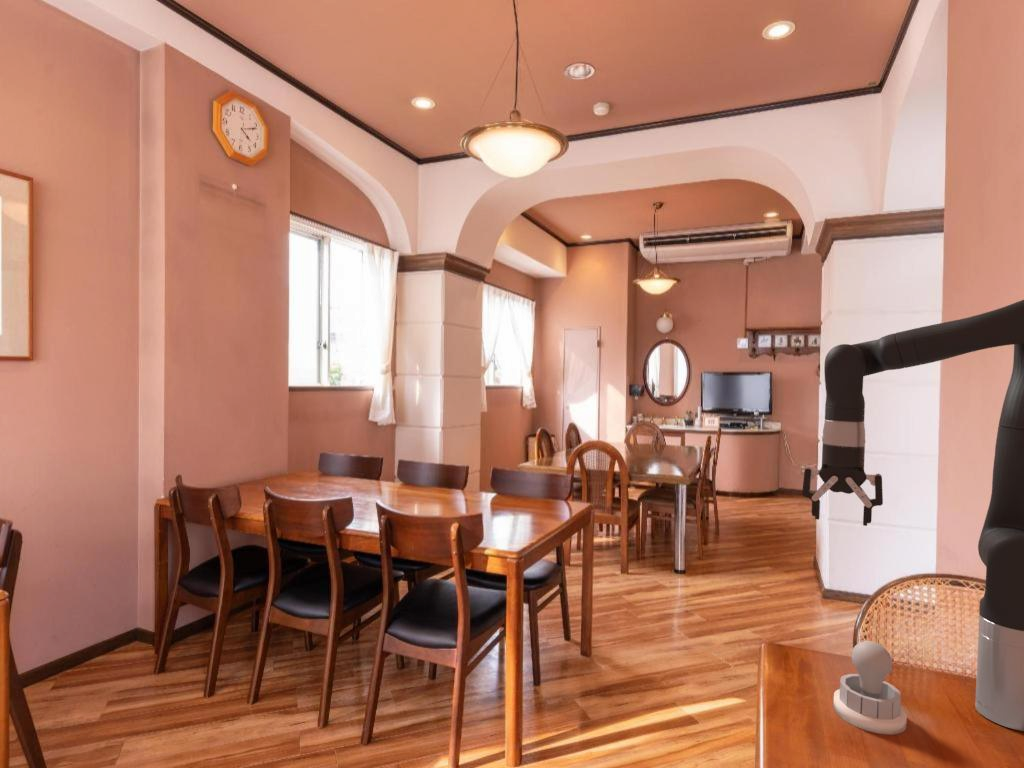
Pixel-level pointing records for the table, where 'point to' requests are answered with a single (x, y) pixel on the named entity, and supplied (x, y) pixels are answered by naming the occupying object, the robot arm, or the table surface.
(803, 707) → the table surface
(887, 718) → the lamp base
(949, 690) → the table surface
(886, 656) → the lightbulb
